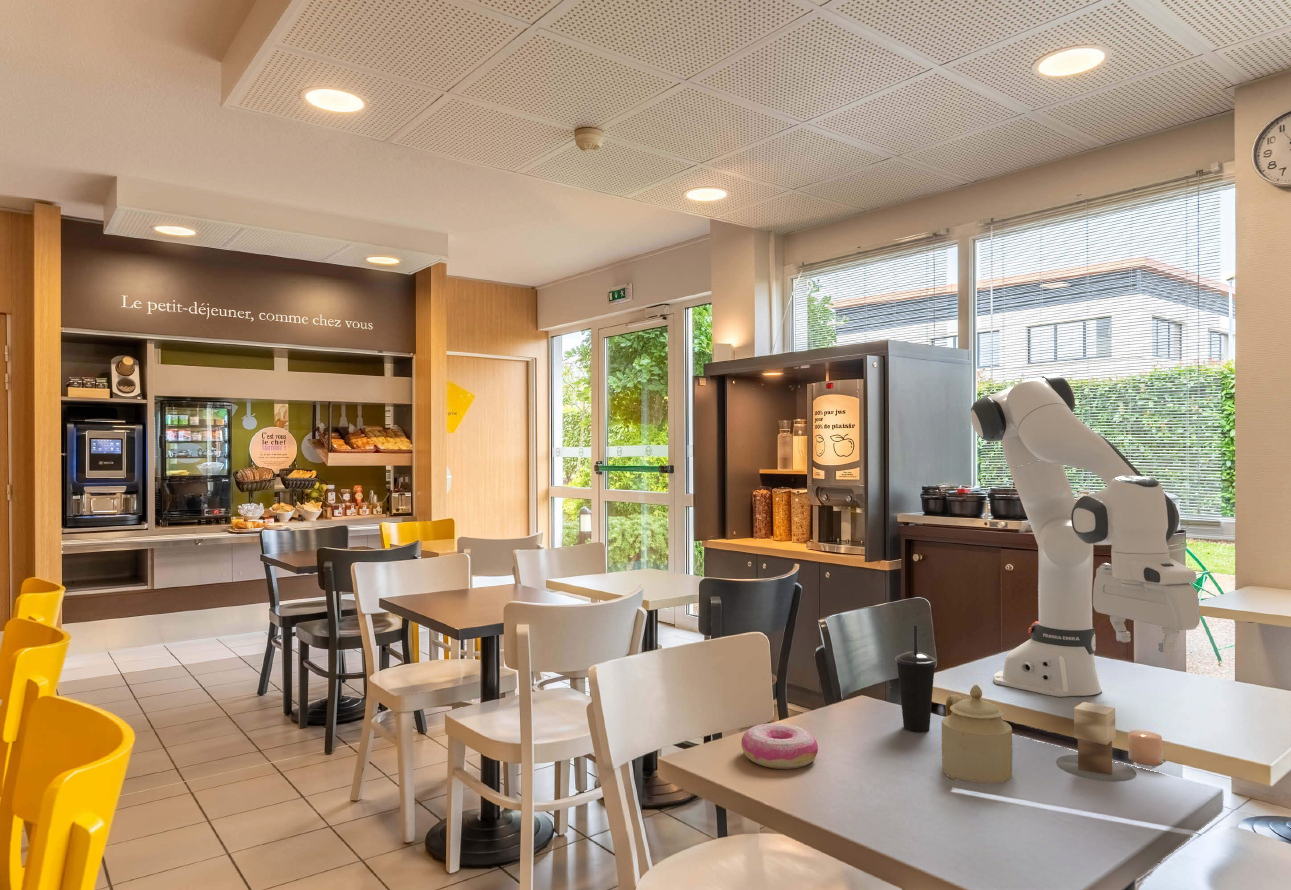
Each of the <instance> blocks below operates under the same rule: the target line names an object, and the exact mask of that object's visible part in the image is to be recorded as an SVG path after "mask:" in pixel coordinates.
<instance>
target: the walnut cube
mask: <svg viewBox="0 0 1291 890" xmlns="http://www.w3.org/2000/svg"><path fill="white" fill-rule="evenodd" d="M1077 755H1078V770H1084V771H1090V772H1096V773H1102V774H1109V775H1112V760H1113V740H1112V741H1111V742H1110V743H1109V744H1107V745H1105V744H1100V743H1096V742H1091V741H1086V740H1082V739H1077Z"/></svg>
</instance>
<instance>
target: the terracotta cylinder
mask: <svg viewBox="0 0 1291 890" xmlns="http://www.w3.org/2000/svg"><path fill="white" fill-rule="evenodd" d="M1127 737H1128V738H1127V739H1128V741H1127V743H1128V744H1127V746H1128V747H1127V748H1128V749H1127V750H1128V752H1127V753H1128V760H1129V761H1131V762H1132V763H1135V764H1138V765H1143V766H1149V767H1150V766H1151V767H1157V766H1161V765H1163V737H1162V735H1160V734H1158V733H1155V732H1152V731H1148V730H1142V729H1141V730H1140V729H1138V730H1137V729H1136V730H1129V731H1128V732H1127Z"/></svg>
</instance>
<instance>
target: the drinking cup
mask: <svg viewBox="0 0 1291 890" xmlns="http://www.w3.org/2000/svg"><path fill="white" fill-rule="evenodd" d="M894 659H895V661H896V666H897V674H898V683H899V685H898V686H899V693H900V702H901V713H902V714H901V715H902V722H903V723H902V724H903V725H902V726H903V728H904V729H905V730H907V731H909V732H913V733H925V732H929V731H930V726H931V718H932V716H931V715H932V704H933V703H932V702H933V690H934V677H935V665H936V664H937V659H936V658H935V657H933V656H930V655H928V654H927V653H924V652H921V651H918V626H917V625H913V651H907V652H904V653H901V654H898V655H896V656H895V658H894Z"/></svg>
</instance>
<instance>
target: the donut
mask: <svg viewBox="0 0 1291 890" xmlns="http://www.w3.org/2000/svg"><path fill="white" fill-rule="evenodd" d="M740 741H741V749H742V751H743V753H744V756H745V757H747V758H748V760H750V761H751V762H753V763H754V764H757V765H759V766H762V767H766V768H770V769H777V770H778V769H779V770H790V769H798V768H802V767H806V766H807V765H809V764H810V763H811V762H813V761H815V759H816V757H817V756H818V755H817V754H819V753H818V752H819V746H818V742H817V740H816V739H815V736H814V735H813V734H811V733H810V732H809V731H808V730H806V729H805V728H803V727H800V726H797V725H794V724H787V723H779V722H777V723H776V722H771V723H770V722H769V723H761V724H756V725H753V726H752V727H750V728H749V729H748V730H746V731H745V732H744V733H743V735H742V737H741V740H740Z"/></svg>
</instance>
